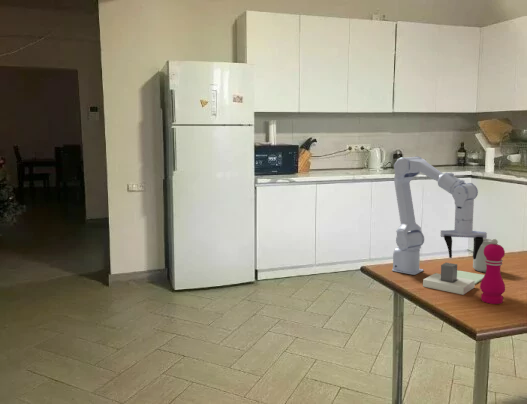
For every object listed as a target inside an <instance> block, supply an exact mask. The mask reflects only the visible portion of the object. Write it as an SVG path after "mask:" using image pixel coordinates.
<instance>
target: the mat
mask: <svg viewBox="0 0 527 404" xmlns="http://www.w3.org/2000/svg"><path fill="white" fill-rule="evenodd" d="M484 275H485V274H480V273H475V272H469V271H465V270H464V271H463V270H458V269H457V277H459V278H465V279H470V280H475V285H477V284H478V283H479V282H480V283H481V281H482V279H483V277H484Z"/></svg>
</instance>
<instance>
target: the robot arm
mask: <svg viewBox="0 0 527 404" xmlns="http://www.w3.org/2000/svg"><path fill="white" fill-rule="evenodd" d="M393 170H394V178H393V181H394V182H393V183H394V188H395V194H396V195H395V196H396V203H397V208H398V216H399V223H400V226H398V228H396V229H397V230H396V231H395V232H396V237H395V243H396V245H397V247H395V249H394V251H393V253H392V254H393V255H392V269H391V272H392V271H393V272H396V273H401V274H408V275H413V276H415V275H417V274H420V273H421V272H423V271H424V269H423V268H420V258H421V257H420V256H421V255H420V254H421V252H420V251H421V249H422V246H423V245H424V244H425V235H424V234H423V231H422V227H421V226H420V225H418V224H417V222H416V218H415V210H414V203H413V197H412V190H411V184H410V182H411V181H412V180H413V179H414V178H415V177H416V176H417V175H419V174H423V175H425V176H427V177H429V178H431V179H433V181H436V182H437V186H438V187H439V188H441V190H444V191H445V192H447V193H448V194H450V195H452V199H453V200H454V207H455V209H454V229H449V230H446V229H445V230H440V237H441V238H443V239H444V241H445V243H446V247H447V250H448V258H450V259H453V258H452V257H453V238H468V239H469V238H471V239H473V251H472V260H473V259H476V256H477V253H478V250H479V248H480V246H481V245H482V243H483V238H484V239H488V237H487V236H488V235H487V234H488V233H487V231H477V230H473V229H474V228H473V227H474V206H475V204H474V203H475V199H476V198H477V197H478V194H479V190H478V188H477V186H476V185H475V184H474V183H473V182H467V183H466V182H465V180H464V179H459V178H458V177H457V176H455V173H453V172H445V173H443V172H442V171H440V169H437V168H436V167H435V166H433V165H432V164H431V163H429V162H428V161H427V160H426V159H424V158H422V157H421V156H418V155H417V156H411V157H410V156H409V157H406V156H405V157H399V158H397V160H396V161H395V162H394V163H393Z"/></svg>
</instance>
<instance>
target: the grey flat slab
mask: <svg viewBox="0 0 527 404" xmlns="http://www.w3.org/2000/svg"><path fill="white" fill-rule="evenodd" d="M422 280H423V281H422V287H423V288H424V287H425V288H429V289H434V290H438V291H442V292H448V293H452V294H457V295H463V296H464V295H465V294H467V293H468V292H470V291H471V290H473V289H474V288H475V287H476V286H475V285H476V284H475V280H470V279H465V278H459V277H457V281H456V282H454V283H450V282H445V281H441V273H437V272H434V273H433V274H431V275H429V276H426V278H423V279H422Z"/></svg>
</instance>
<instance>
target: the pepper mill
mask: <svg viewBox="0 0 527 404" xmlns="http://www.w3.org/2000/svg"><path fill="white" fill-rule="evenodd" d="M491 240H492V241H491V243H492V244H489V245H487V246H486V247H485V248H484V255H485V257H486V259H485V263H486V267H487V268H486V272H484V274H483V275H484V277H483V279H482V280H481V281H480V284H479V289H480V291H481V292H482V293H481V295H480V299H481V301H482V302H483V303H486V304H491V305H499V304H502V303H503V302H504V295H503V294H504V292H506V284H505V282H504V279H503V278H502V277H503V276H502V274H501V266H503V258H504V257H505V254H506V253H505V252H506V251H505V249H504V247H503V245H500V244H498V243H499V241H498V240H497V239H496V238H495V239H491Z"/></svg>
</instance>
